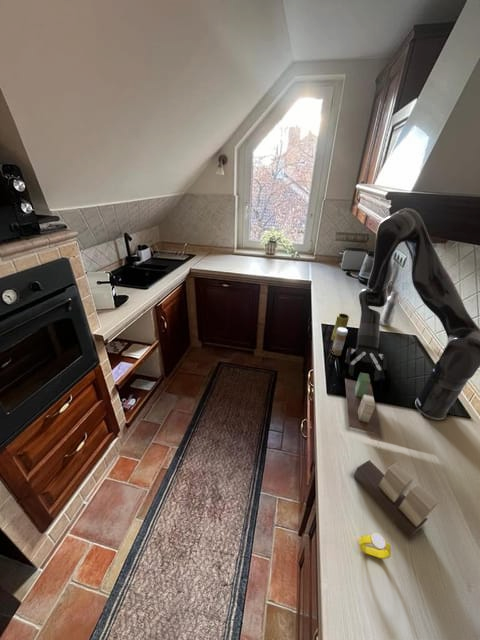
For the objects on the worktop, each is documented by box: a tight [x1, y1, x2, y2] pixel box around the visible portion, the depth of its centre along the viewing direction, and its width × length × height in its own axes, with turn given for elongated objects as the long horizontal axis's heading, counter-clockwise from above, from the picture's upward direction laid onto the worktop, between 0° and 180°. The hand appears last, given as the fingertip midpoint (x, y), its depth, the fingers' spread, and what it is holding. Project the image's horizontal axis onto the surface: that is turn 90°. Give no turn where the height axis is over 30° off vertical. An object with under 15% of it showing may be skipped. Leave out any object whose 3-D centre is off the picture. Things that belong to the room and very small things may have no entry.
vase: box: [330, 313, 350, 343], centre depth 127 cm, size 6×6×14 cm
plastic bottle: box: [380, 290, 401, 327], centre depth 140 cm, size 6×7×20 cm
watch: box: [358, 532, 392, 560], centre depth 55 cm, size 6×3×6 cm, turn 72°
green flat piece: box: [355, 371, 371, 397], centre depth 96 cm, size 3×4×8 cm
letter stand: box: [353, 459, 439, 539], centre depth 63 cm, size 5×16×12 cm, turn 28°
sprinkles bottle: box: [331, 327, 349, 357], centre depth 117 cm, size 5×5×13 cm
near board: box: [344, 378, 382, 436], centre depth 91 cm, size 24×10×9 cm, turn 163°
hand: (363, 377), depth 95 cm, fingers open, 8 cm apart
